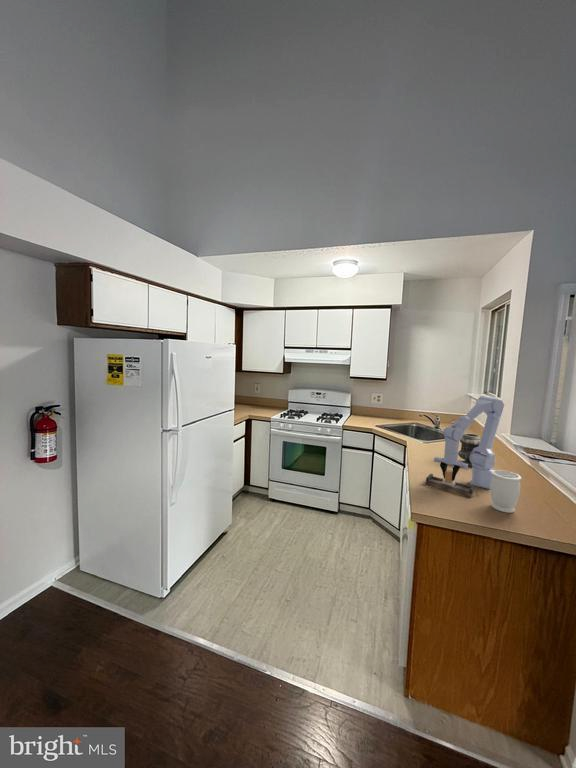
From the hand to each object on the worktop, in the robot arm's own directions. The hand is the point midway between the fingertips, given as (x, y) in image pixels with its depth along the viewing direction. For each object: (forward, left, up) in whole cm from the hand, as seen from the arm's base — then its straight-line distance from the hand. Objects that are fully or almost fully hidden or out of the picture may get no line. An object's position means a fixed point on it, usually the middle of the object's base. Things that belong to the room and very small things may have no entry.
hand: (449, 479), depth 152 cm
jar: (-23, +6, -5) cm, 24 cm away
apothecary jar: (-1, -45, -5) cm, 45 cm away
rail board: (-1, 0, -4) cm, 4 cm away
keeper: (0, 0, -3) cm, 3 cm away
